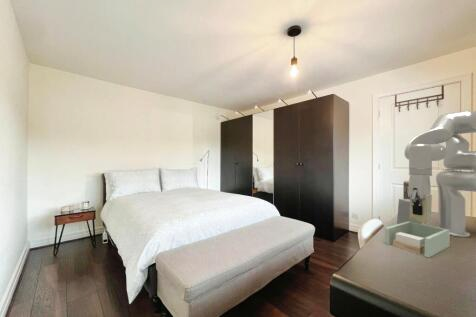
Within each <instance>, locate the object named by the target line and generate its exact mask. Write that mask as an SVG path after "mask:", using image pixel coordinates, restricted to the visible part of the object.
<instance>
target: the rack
mask: <svg viewBox="0 0 476 317" xmlns="http://www.w3.org/2000/svg"><path fill="white" fill-rule="evenodd" d="M438 227H439V226H433V225H428V224H424V223H422V224H420V223H415V222H410V221H407V222H404V223H400V224H397V223H396V224H394V225H391V226H390V225H389V226H387V227H385V236H384V237H385V241H384V242H385V245H388V246H390V245H393V240H394V239H396V233H399V232H402V233H406V234H410V235H414V236H418V237H422V238H424V245H425V252H424V257H425V258H431V257H433V256H435V255H437V254H439V253H441V252H442V251H444V250H446V249H448V248H449V247H450V244H451V242H450V241H451V240H450V236H451V235H450V230H448V229H443V228H438Z"/></svg>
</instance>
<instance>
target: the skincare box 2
mask: <svg viewBox="0 0 476 317" xmlns="http://www.w3.org/2000/svg"><path fill="white" fill-rule="evenodd" d="M416 198H419V197H416ZM432 198H433V195H432V194H430V195H429V194H428V195H424V198H423V199H422V204H421V206H422V215H415V214H413V205H412V199H411V198H410V213H409V220H412V221H416V222H420V223H422V224H424V225H427V224H431V223H432V206H433V205H432V204H433V203H432V202H433V201H432ZM418 201H419V200H418Z"/></svg>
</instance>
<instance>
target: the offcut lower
mask: <svg viewBox="0 0 476 317" xmlns="http://www.w3.org/2000/svg"><path fill="white" fill-rule="evenodd" d="M392 246H393V247H395V248H397V249H398V248H399V249H401V250H405V251H407V252H411V253H414V254H416V255H417V254H418V255H422V254H425V244H424V245H423V246H421V247H417V246H413V245H410V244H406V243H403V242H399V241H396V239H394V240H393V244H392Z"/></svg>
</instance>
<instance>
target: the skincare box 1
mask: <svg viewBox="0 0 476 317" xmlns="http://www.w3.org/2000/svg"><path fill="white" fill-rule="evenodd" d="M397 206H398V207H397V208H398V209H397V218H396V225H397V224H400V223H404V222H407V221H410V222H415V223H420V222H416V221H412V220H409V213H410V200H409V199H403V198H398V205H397ZM420 224H423V223H420Z"/></svg>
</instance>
